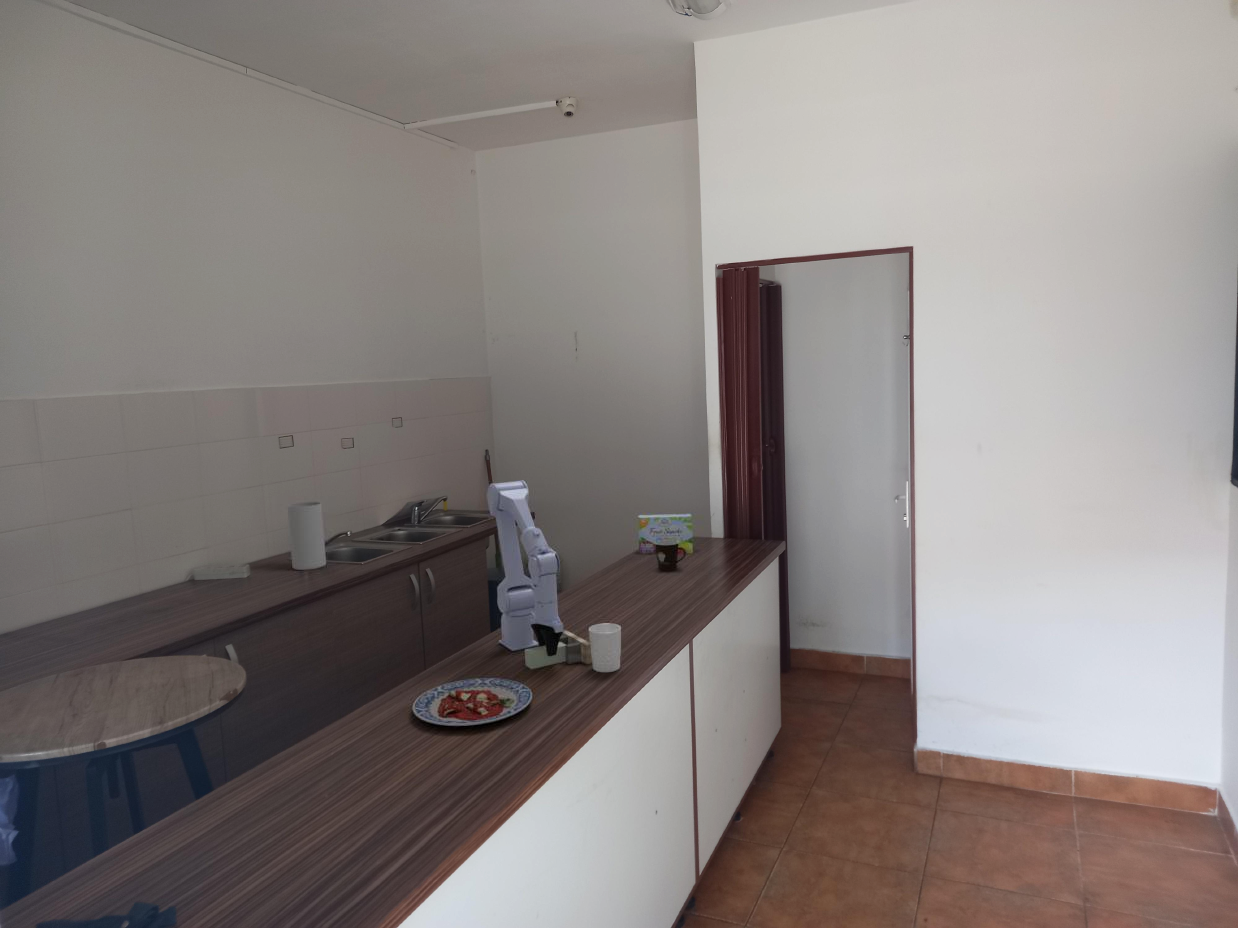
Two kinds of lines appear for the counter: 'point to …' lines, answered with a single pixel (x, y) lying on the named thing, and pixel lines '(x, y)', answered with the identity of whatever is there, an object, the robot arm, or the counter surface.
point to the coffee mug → (668, 555)
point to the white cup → (605, 647)
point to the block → (544, 656)
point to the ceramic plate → (472, 701)
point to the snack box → (665, 531)
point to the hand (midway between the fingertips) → (548, 653)
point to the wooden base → (576, 648)
